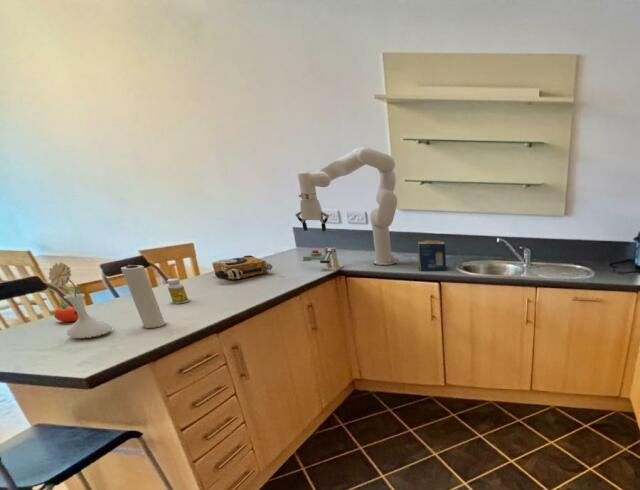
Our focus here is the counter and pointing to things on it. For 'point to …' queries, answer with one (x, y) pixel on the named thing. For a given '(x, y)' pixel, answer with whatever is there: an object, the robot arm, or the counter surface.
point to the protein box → (432, 255)
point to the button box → (314, 256)
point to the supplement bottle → (177, 291)
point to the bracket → (335, 260)
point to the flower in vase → (77, 306)
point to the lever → (326, 256)
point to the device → (240, 267)
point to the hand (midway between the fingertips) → (314, 230)
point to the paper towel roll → (143, 296)
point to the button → (315, 251)
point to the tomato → (66, 314)
